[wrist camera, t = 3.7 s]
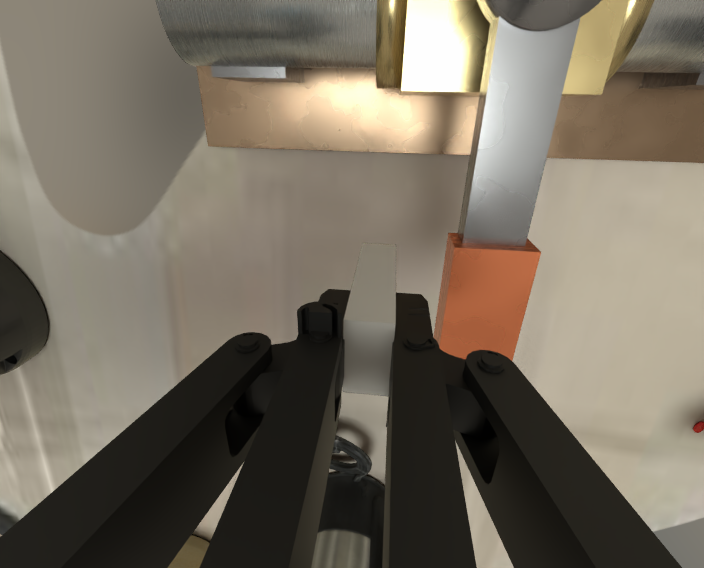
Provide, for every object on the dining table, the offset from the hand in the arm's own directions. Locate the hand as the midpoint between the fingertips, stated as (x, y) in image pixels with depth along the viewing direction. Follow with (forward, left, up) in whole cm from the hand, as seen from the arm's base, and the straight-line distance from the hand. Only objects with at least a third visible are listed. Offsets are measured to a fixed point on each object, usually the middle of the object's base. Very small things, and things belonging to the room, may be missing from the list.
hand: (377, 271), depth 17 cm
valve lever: (+5, +5, 0) cm, 6 cm away
